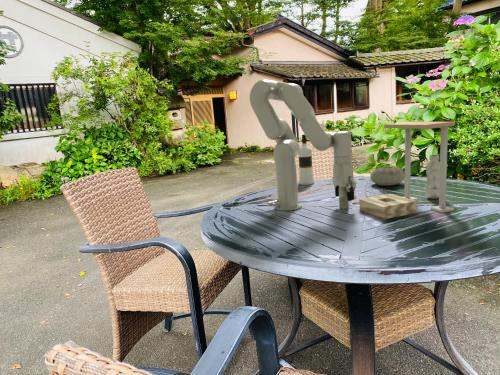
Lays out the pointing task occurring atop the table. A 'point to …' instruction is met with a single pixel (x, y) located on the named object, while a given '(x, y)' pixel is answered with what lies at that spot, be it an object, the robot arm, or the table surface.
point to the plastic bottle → (433, 177)
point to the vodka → (305, 164)
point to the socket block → (388, 206)
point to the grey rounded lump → (387, 176)
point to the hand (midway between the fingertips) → (344, 198)
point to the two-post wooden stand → (443, 158)
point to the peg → (343, 198)
